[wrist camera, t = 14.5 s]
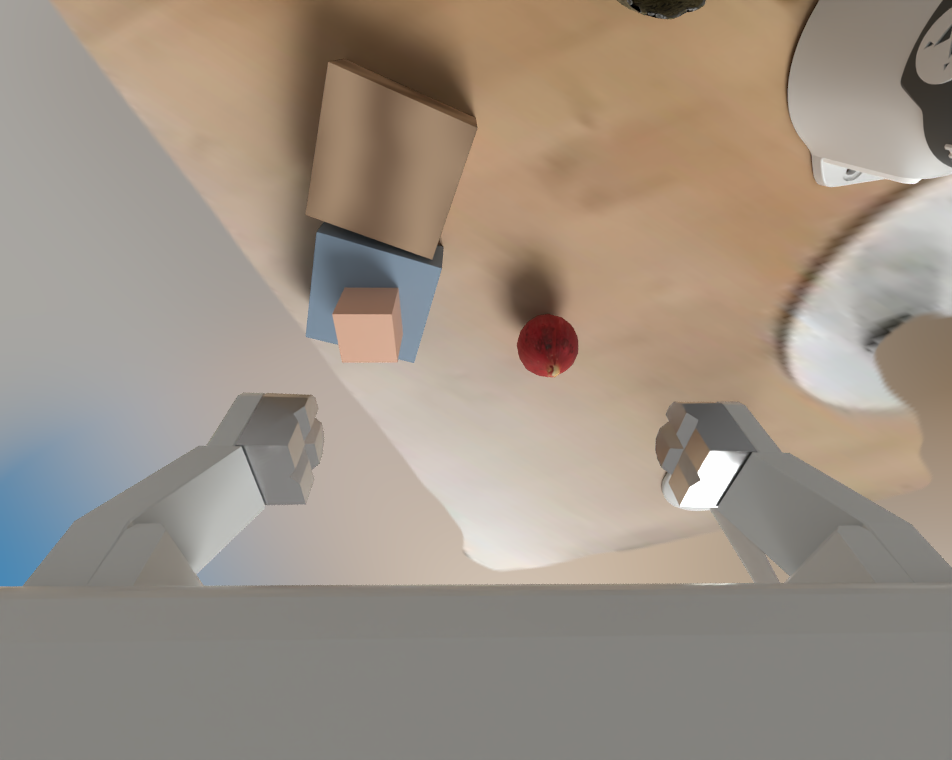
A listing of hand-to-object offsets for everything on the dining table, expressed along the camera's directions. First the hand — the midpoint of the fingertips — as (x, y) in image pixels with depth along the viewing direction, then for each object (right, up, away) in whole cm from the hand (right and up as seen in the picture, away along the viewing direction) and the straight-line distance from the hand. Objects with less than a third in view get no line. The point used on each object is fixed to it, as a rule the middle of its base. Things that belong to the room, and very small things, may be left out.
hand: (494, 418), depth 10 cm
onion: (+6, +7, +35) cm, 36 cm away
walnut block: (-7, +19, +25) cm, 32 cm away
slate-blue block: (-10, +11, +31) cm, 35 cm away
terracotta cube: (-9, +7, +28) cm, 30 cm away
